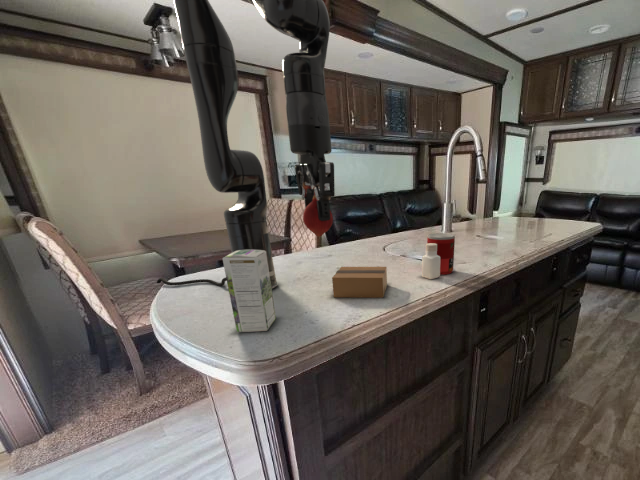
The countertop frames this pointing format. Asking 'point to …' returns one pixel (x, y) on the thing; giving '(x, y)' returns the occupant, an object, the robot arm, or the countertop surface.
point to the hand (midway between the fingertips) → (318, 218)
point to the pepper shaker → (431, 262)
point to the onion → (316, 219)
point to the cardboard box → (360, 282)
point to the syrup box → (250, 290)
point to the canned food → (444, 250)
